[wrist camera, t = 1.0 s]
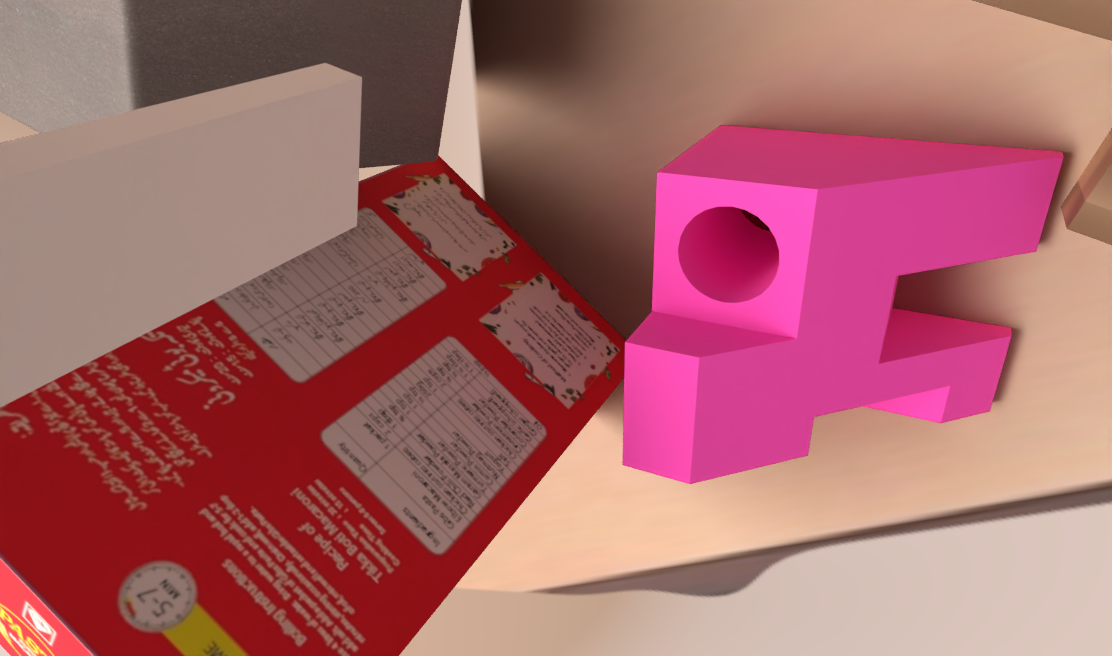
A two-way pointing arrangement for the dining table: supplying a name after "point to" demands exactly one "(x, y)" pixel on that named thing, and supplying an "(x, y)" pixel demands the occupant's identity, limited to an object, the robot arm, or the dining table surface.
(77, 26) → the planter
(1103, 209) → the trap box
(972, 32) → the dining table surface
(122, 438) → the food packaging
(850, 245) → the bracket
